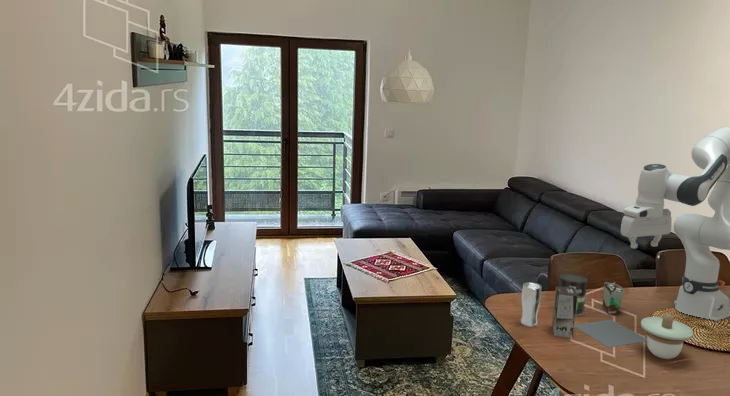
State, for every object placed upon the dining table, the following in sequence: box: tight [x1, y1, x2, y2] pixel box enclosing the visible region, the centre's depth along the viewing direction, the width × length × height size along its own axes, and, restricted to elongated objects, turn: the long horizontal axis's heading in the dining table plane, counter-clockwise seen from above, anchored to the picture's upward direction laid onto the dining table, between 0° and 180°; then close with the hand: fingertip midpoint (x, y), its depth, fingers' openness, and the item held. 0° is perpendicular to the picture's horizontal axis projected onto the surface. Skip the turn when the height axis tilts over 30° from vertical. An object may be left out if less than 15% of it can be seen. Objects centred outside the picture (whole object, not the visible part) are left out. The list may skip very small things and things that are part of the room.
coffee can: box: [558, 273, 589, 316], centre depth 209 cm, size 10×10×14 cm
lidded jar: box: [646, 331, 685, 360], centre depth 175 cm, size 11×11×9 cm
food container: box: [602, 281, 625, 315], centre depth 210 cm, size 12×6×10 cm, turn 168°
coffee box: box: [551, 285, 578, 339], centre depth 190 cm, size 9×6×16 cm
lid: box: [640, 313, 694, 341], centre depth 174 cm, size 15×15×5 cm
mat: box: [574, 319, 647, 349], centre depth 191 cm, size 18×18×1 cm
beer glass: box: [520, 282, 543, 328], centre depth 197 cm, size 7×7×15 cm
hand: (644, 247), depth 191 cm, fingers open, 8 cm apart
